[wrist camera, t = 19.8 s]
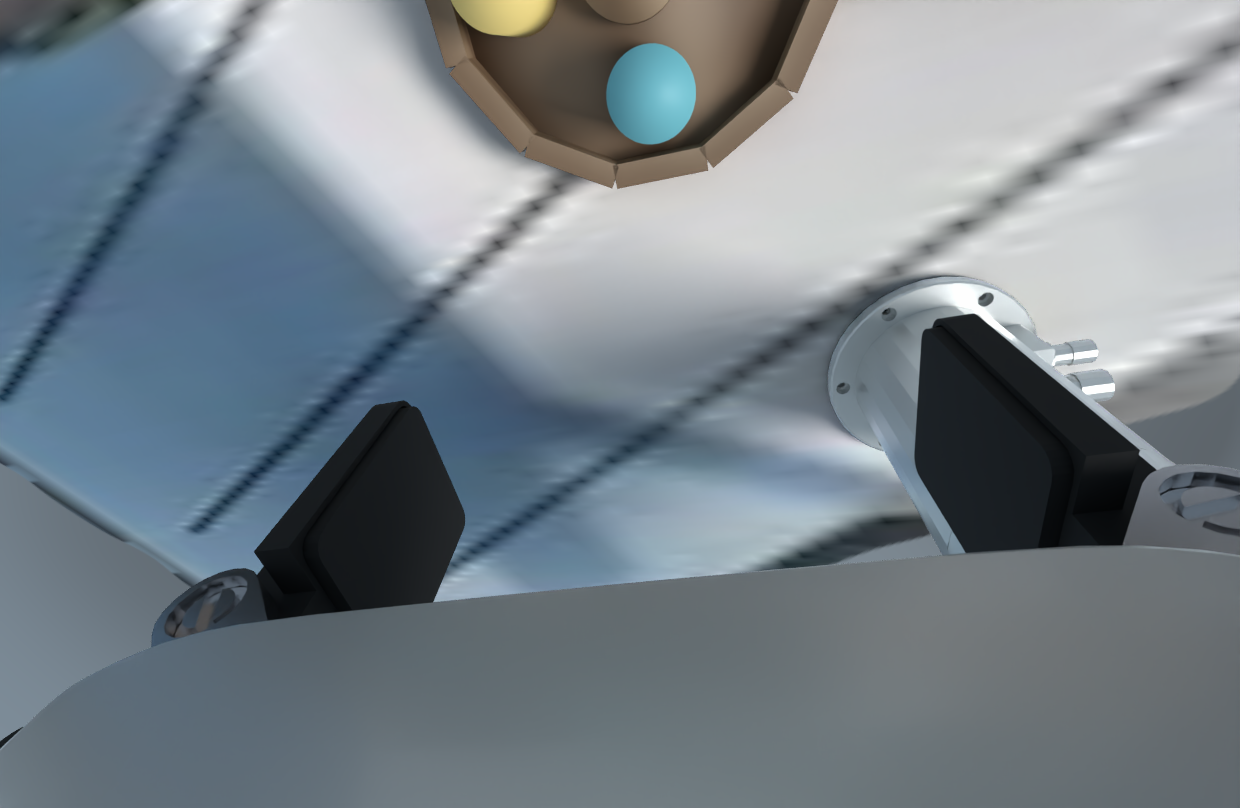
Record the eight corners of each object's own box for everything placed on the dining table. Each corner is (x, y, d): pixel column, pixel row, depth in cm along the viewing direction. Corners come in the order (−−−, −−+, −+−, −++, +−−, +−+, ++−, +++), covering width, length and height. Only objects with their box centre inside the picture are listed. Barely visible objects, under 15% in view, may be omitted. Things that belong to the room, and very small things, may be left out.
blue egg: (685, 36, 29) (689, 33, 25) (695, 123, 31) (701, 134, 27) (606, 54, 30) (597, 55, 25) (622, 138, 32) (615, 152, 27)
